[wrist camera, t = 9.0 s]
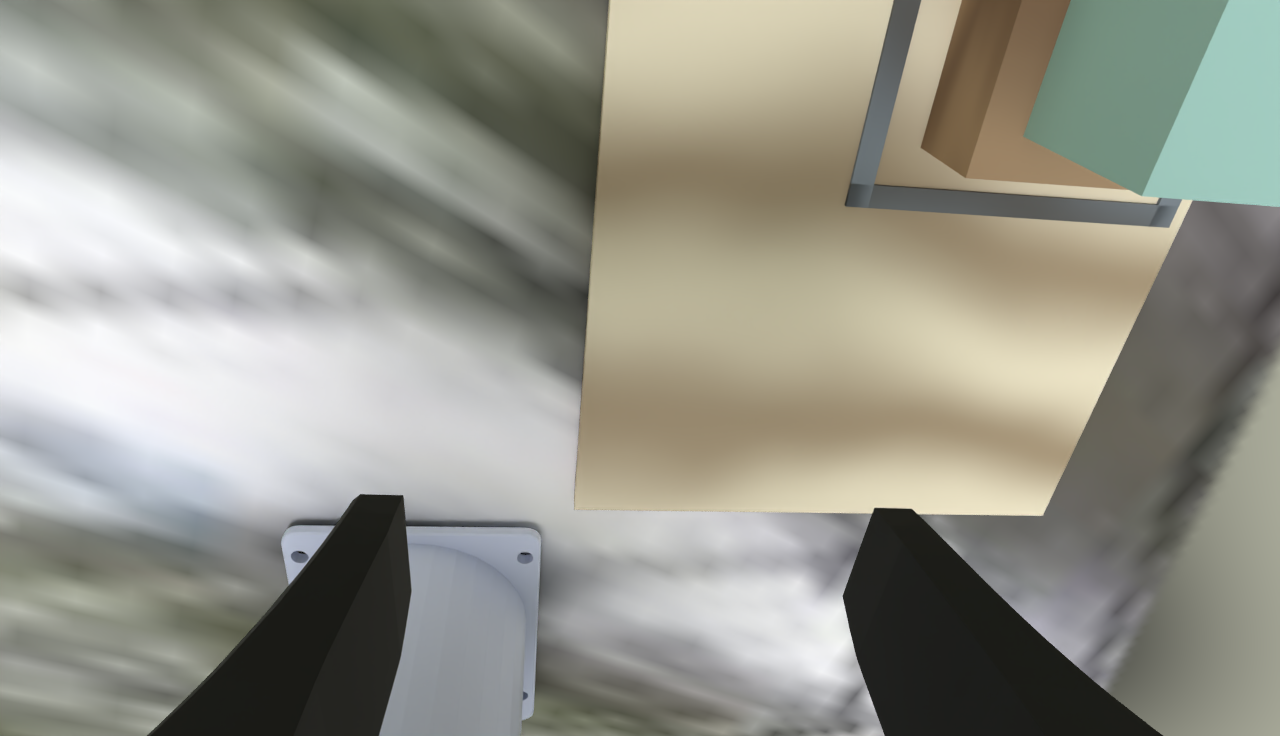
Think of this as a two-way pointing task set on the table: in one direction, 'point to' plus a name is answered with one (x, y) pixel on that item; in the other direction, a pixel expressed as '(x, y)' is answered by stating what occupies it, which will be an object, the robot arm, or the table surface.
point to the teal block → (1168, 97)
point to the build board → (832, 276)
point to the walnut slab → (1000, 95)
